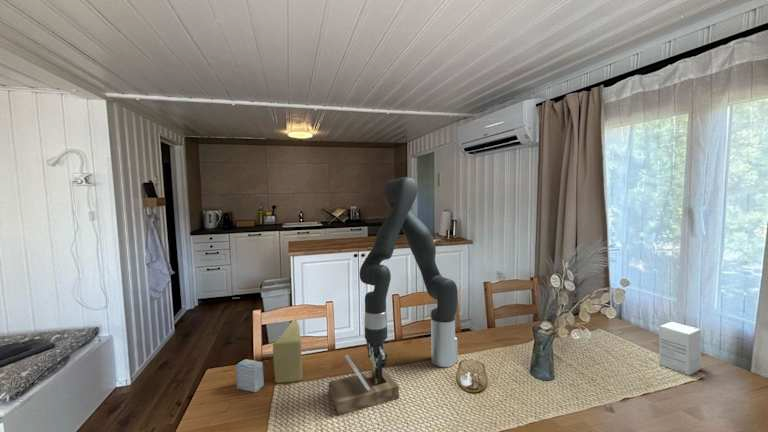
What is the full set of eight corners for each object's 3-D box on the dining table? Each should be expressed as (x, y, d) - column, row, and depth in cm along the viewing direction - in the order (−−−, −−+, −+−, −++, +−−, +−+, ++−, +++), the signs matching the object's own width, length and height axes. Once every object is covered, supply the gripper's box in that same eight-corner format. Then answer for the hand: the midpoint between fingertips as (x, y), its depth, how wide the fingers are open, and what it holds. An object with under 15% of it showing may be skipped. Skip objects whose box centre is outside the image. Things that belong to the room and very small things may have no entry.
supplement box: (670, 358, 123) (671, 320, 123) (701, 369, 115) (702, 329, 114) (657, 364, 119) (658, 325, 119) (688, 376, 111) (689, 333, 111)
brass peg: (379, 377, 107) (378, 351, 107) (382, 382, 105) (382, 355, 104) (370, 379, 106) (370, 353, 106) (373, 384, 103) (373, 357, 103)
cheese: (285, 354, 134) (283, 319, 133) (308, 352, 135) (307, 318, 134) (273, 384, 112) (272, 342, 111) (302, 381, 113) (300, 340, 112)
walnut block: (384, 379, 113) (384, 368, 113) (398, 398, 102) (398, 386, 102) (328, 393, 105) (328, 381, 105) (338, 415, 94) (337, 402, 94)
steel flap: (358, 375, 108) (360, 373, 108) (368, 391, 99) (370, 389, 99) (344, 355, 106) (347, 353, 106) (353, 370, 97) (356, 367, 97)
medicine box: (264, 386, 111) (263, 361, 110) (255, 393, 107) (254, 368, 106) (246, 382, 113) (245, 358, 113) (236, 389, 109) (235, 364, 109)
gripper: (395, 329, 100) (395, 383, 100) (378, 315, 113) (379, 363, 113) (372, 333, 97) (373, 389, 97) (358, 318, 110) (359, 367, 110)
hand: (376, 375), depth 105 cm, fingers closed on brass peg, 3 cm apart
